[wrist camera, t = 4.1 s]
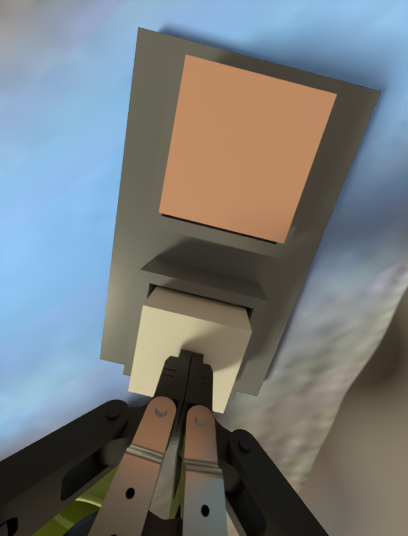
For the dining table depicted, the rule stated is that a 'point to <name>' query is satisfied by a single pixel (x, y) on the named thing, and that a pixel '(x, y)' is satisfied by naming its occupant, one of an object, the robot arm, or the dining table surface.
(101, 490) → the plant pot
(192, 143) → the terracotta key
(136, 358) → the cream key
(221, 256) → the key panel
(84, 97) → the dining table surface
